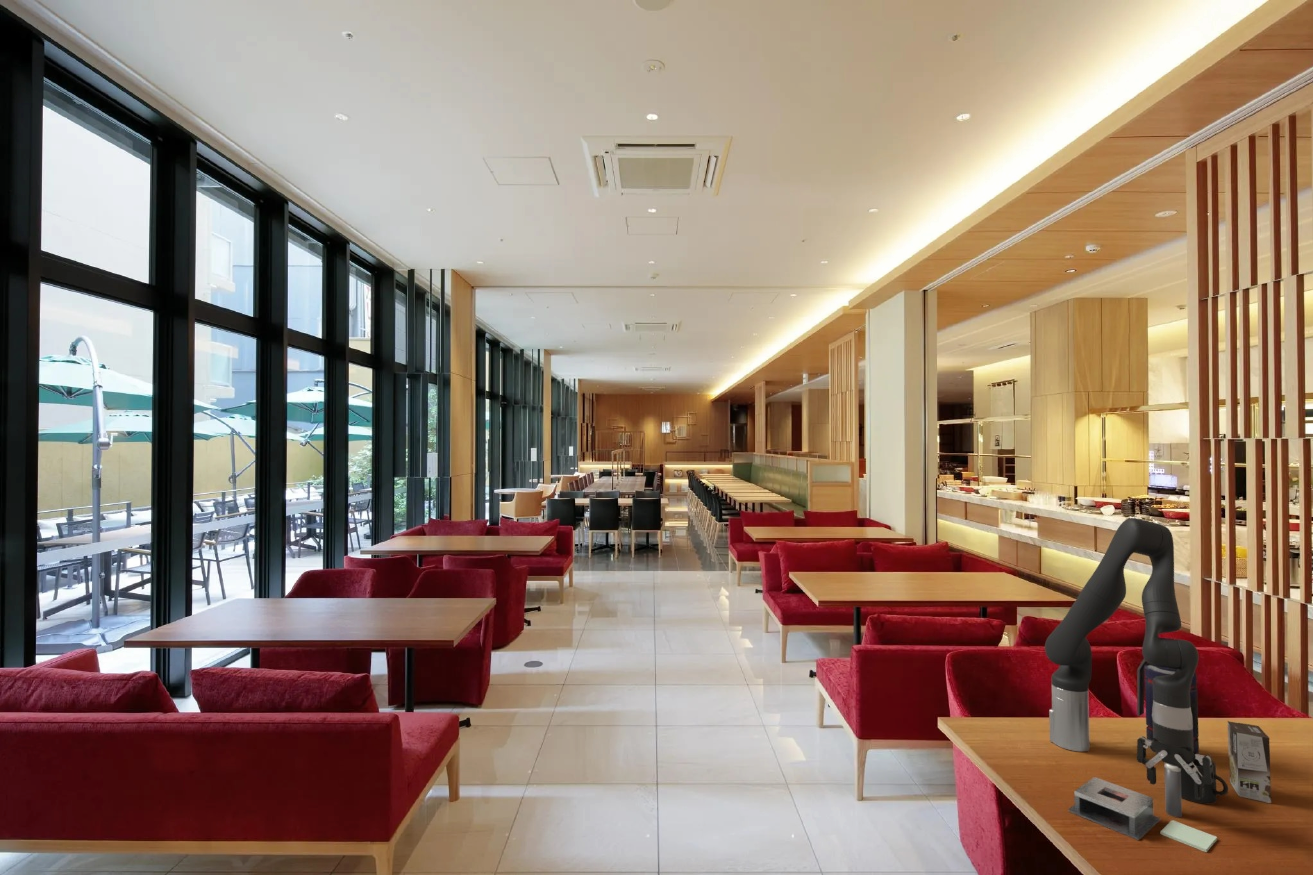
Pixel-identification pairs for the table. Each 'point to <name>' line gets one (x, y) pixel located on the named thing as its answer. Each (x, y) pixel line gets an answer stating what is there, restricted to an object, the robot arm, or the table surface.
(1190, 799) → the mug
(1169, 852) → the table surface
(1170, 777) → the peg
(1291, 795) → the table surface
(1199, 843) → the pad
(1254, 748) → the coffee box
